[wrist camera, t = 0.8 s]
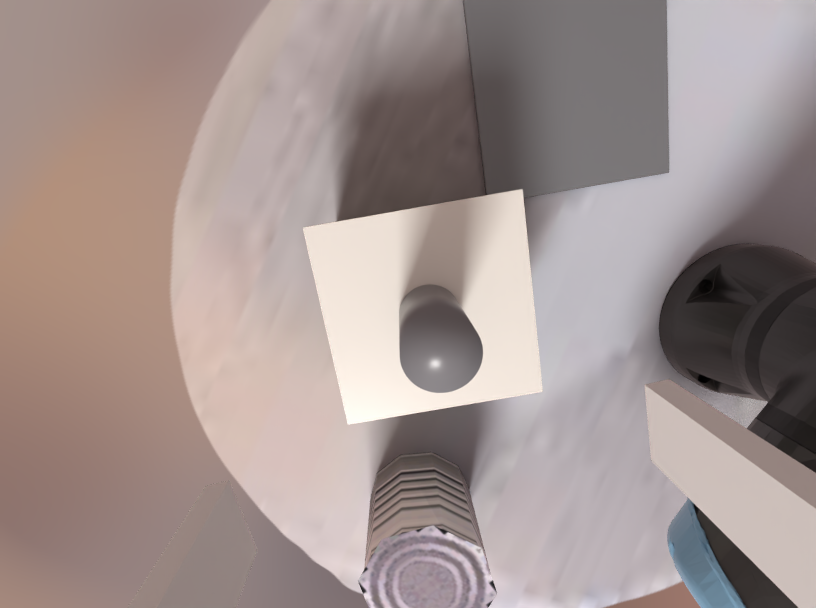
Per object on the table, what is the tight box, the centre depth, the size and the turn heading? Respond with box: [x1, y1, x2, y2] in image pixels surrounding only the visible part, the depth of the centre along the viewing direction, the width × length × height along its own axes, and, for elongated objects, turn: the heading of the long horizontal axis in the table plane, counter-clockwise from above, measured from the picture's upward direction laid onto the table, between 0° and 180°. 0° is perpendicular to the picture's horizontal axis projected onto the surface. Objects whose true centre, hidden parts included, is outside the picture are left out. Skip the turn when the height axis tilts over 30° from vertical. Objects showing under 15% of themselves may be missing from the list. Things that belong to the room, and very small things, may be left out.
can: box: [358, 452, 497, 608], centre depth 40 cm, size 11×11×12 cm
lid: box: [303, 189, 543, 425], centre depth 26 cm, size 15×15×10 cm
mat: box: [463, 0, 669, 198], centre depth 36 cm, size 17×17×1 cm
